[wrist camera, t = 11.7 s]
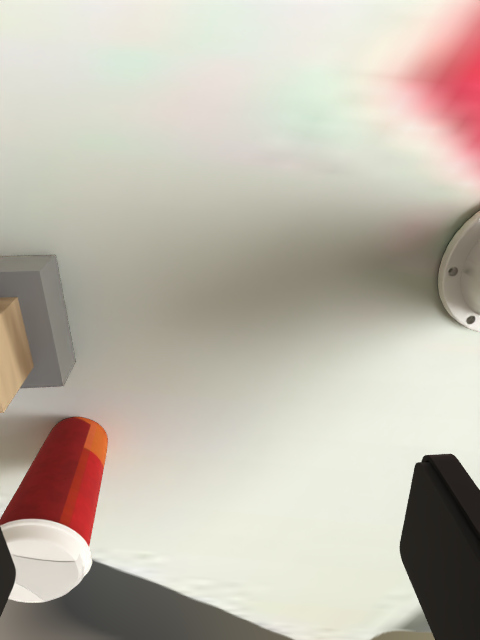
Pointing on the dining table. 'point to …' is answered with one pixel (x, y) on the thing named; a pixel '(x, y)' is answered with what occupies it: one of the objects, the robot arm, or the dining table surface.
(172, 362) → the dining table surface
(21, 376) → the oak cube
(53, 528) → the paper cup
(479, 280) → the robot arm
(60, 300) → the slate pedestal
